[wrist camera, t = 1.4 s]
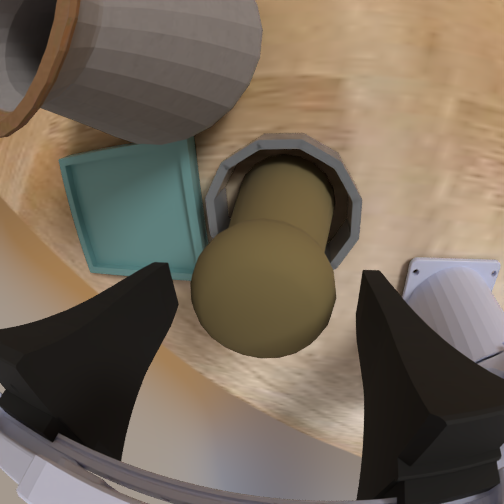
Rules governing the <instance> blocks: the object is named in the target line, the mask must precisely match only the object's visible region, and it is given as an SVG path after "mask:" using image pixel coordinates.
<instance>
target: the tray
mask: <svg viewBox="0 0 504 504" xmlns="http://www.w3.org/2000/svg"><path fill="white" fill-rule="evenodd" d="M59 164H60V169H61V173H62V178H63V182H64V186H65V190H66V194H67V198H68V202H69V206H70V210H71V213H72V217H73V220H74V224H75V227H76V230H77V234H78V237H79V240H80V243H81V246H82V249H83V252H84V255H85V258H86V261H87V264H88V267H89V270H90V272H91V273H101V274H112V275H123V276H130V275H132V274H133V273H135V272H137V271H138V270H140V269H142V268H143V267H145V266H147V265H149V264H151V263H153V262H166V263H168V264H169V268H170V272H171V276H172V279H174V280H188V281H191V279H192V274H193V271H194V268H195V265H196V262H197V260H198V257H199V255H200V254H201V252H202V251H203V250H204V248H205V247H206V246H207V245H208V237H207V231H206V224H205V217H204V210H203V203H202V195H201V188H200V180H199V173H198V165H197V157H196V148H195V140H194V136H192V137H190V138H188V139H186V140H181V141H176V142H172V143H168V144H163V145H154V144H136V143H130V144H124V145H118V146H113V147H107V148H102V149H97V150H92V151H87V152H82V153H78V154H73V155H69V156H66V157H64V158H61V159H59Z"/></svg>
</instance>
